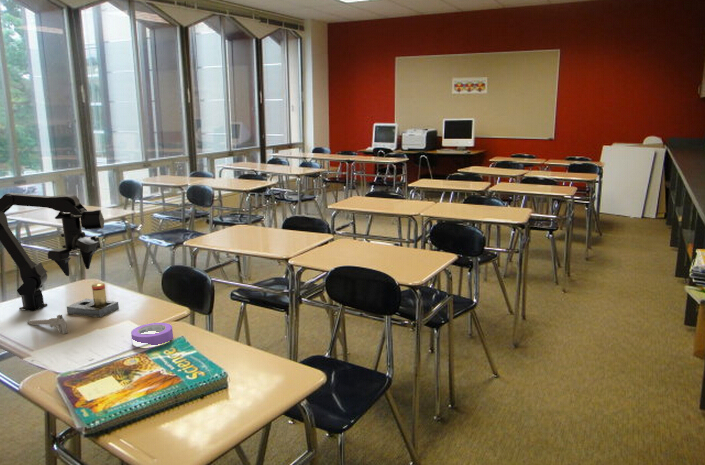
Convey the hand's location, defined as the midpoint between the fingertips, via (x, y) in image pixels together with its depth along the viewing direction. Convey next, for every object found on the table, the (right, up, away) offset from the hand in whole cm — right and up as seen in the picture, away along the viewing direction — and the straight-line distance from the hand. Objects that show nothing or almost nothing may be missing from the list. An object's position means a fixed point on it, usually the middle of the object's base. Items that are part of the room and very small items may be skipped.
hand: (77, 272), depth 193 cm
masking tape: (+39, -19, -31) cm, 53 cm away
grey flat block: (+8, -13, -5) cm, 16 cm away
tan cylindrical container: (+11, -13, -6) cm, 19 cm away
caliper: (0, -17, -20) cm, 26 cm away
